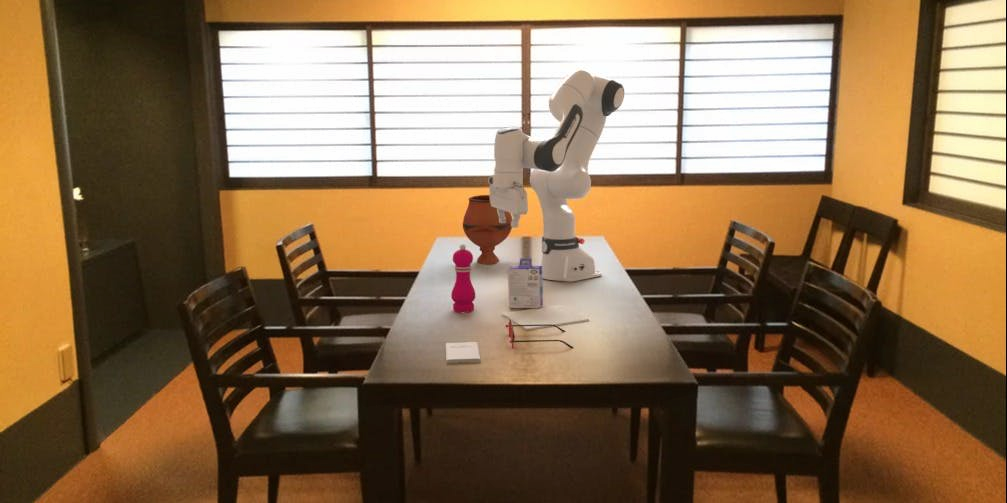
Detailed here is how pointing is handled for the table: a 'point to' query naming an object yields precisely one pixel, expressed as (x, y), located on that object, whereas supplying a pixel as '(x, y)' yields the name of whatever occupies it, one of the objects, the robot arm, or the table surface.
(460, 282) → the pepper mill
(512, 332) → the glasses
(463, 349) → the external hard drive
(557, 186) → the robot arm
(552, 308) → the felt mat
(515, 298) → the ink cartridge box
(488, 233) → the goblet
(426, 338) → the table surface
